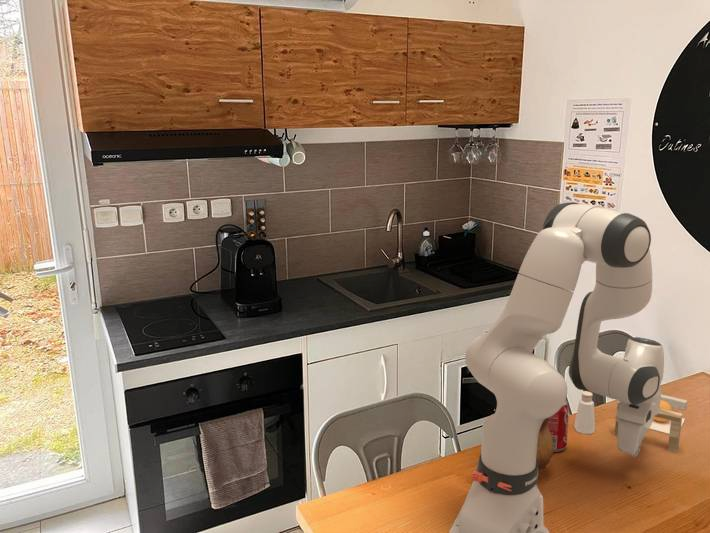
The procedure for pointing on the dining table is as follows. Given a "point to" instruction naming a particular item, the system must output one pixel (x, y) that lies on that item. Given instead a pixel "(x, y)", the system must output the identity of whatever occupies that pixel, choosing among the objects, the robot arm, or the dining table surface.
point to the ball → (663, 406)
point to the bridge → (674, 427)
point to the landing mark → (662, 426)
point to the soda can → (559, 428)
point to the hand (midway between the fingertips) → (634, 453)
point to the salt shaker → (585, 414)
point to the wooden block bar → (675, 402)
